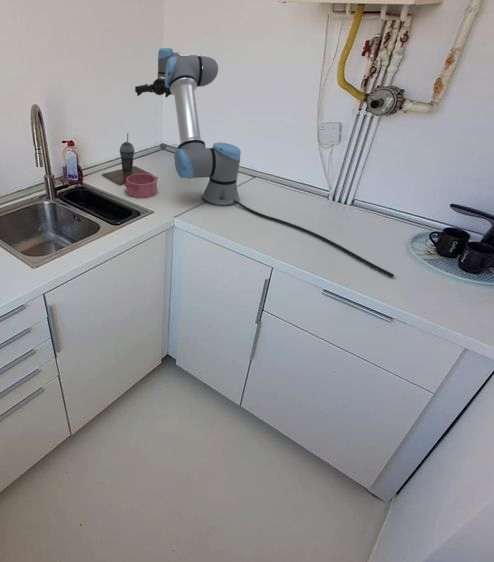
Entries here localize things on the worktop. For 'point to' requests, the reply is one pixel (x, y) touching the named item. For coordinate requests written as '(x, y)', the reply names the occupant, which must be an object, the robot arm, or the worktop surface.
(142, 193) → the pot
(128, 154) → the beverage cup
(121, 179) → the board
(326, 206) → the worktop surface
